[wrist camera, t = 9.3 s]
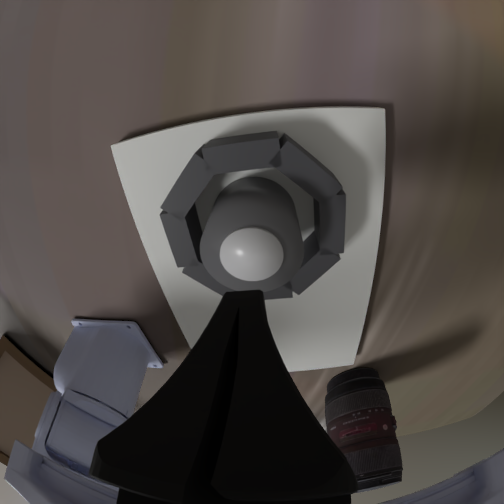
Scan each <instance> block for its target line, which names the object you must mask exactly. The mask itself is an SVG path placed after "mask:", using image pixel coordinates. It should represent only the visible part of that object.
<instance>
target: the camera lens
mask: <svg viewBox="0 0 504 504" xmlns="http://www.w3.org/2000/svg"><path fill="white" fill-rule="evenodd" d="M391 411H392V409H391V404H390V399H389V395H388V393H387V390H386V388H385V384H384V382H383V381H382V380H381V379H379V375H378V373H377V371H376V370H374V369H371V368H359V369H353V370H349V371H346V372H344V373H341V374H339V375H337V376H336V377H334V378H333V379H332V380H331V381H330V382H329V383H328V385H327V395H326V397H325V417H326V426H327V433H328V435H329V437H330V438H331V439H332V440H333V442H334V443H335V444H336V446H337V447H338V448H339V449H340V450H341V452H342V453H343V454H344V455H345V457H346V458H347V461H348V463H349V464H350V466H351V468H352V470H353V472H354V474H355V476H356V478H357V481H358V486H359V490H358V491H357V492H356V493H359V492H364V491H369V490H373V489H378V488H382V487H386V486H389V485H393V484H396V483H399V482H401V481H402V470H403V468H402V459H401V453H400V447H399V444H398V440H397V439H396V433H395V430H396V428H397V426H396V420H395V416H392V412H391Z"/></svg>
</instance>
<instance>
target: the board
mask: <svg viewBox="0 0 504 504" xmlns="http://www.w3.org/2000/svg"><path fill="white" fill-rule="evenodd" d="M111 149H112V152H113V156H114V159H115V163H116V166H117V170H118V173H119V176H120V179H121V183H122V186H123V189H124V192H125V195H126V198H127V201H128V204H129V207H130V210H131V212H132V215H133V218H134V221H135V224H136V226H137V229H138V232H139V234H140V237H141V240H142V242H143V245H144V247H145V250H146V252H147V255H148V257H149V260H150V262H151V265H152V267H153V269H154V272H155V274H156V276H157V279H158V281H159V283H160V286H161V288H162V290H163V292H164V295H165V297H166V299H167V301H168V303H169V305H170V308H171V310H172V312H173V314H174V316H175V318H176V320H177V322H178V324H179V326H180V328H181V330H182V332H183V334H184V336H185V338H186V340H187V342H188V344H189V346H190V348H191V349H192V348H193V346H194V345H195V344H196V342H197V341H198V339H199V338H200V336H201V334H202V333H203V331H204V329H205V328H206V326H207V324H208V323H209V321H210V319H211V318H212V316H213V314H214V312H215V310H216V309H217V307H218V305H219V303H220V301H221V299H222V297H223V295H224V294H225V293H226V292H231V291H236V290H233V289H230V288H228V287H226V286H224V285H222V284H221V283H219V282H218V281H216V280H215V279H214V278H213V277H212V276H211V275H210V274H209V273H208V271H207V270H206V268H205V267H204V265H203V262H202V260H201V256H200V241H201V238H202V234H203V232H204V229H205V226H206V224H207V221H208V219H209V216H210V213H211V211H212V208H213V206H214V203H215V201H216V199H217V196H218V195H219V193H220V192H221V191H222V190H223V189H224V188H225V187H226V186H227V185H229V184H230V183H232V182H234V181H236V180H238V179H241V178H246V177H262V178H267V179H270V180H272V181H274V182H276V183H278V184H279V185H281V186H282V187H283V188H284V189H285V190H286V191H287V192H288V193H289V194H290V196H291V198H292V200H293V202H294V205H295V208H296V213H297V217H298V221H299V226H300V230H301V235H302V239H303V244H304V258H303V262H302V264H301V267H300V269H299V270H298V272H297V273H296V274H295V276H294V277H293V278H292V279H291V280H290V281H288V282H287V283H286V284H284V285H282V286H281V287H278V288H276V289H274V290H271V291H267V292H263V294H264V300H265V307H266V313H267V320H268V324H269V327H270V330H271V333H272V335H273V338H274V341H275V343H276V346H277V348H278V351H279V353H280V355H281V357H282V360H283V362H284V364H285V366H286V368H287V370H288V372H291V371H303V370H314V369H323V368H331V367H339V366H346V365H353V364H354V360H355V357H356V353H357V350H358V346H359V342H360V338H361V334H362V330H363V326H364V322H365V317H366V313H367V308H368V303H369V298H370V293H371V288H372V283H373V277H374V271H375V265H376V259H377V252H378V245H379V237H380V229H381V219H382V209H383V197H384V181H385V154H386V125H385V109H384V108H380V107H362V106H327V107H303V108H288V109H277V110H267V111H258V112H250V113H243V114H236V115H229V116H223V117H217V118H212V119H206V120H201V121H196V122H191V123H187V124H182V125H178V126H174V127H170V128H166V129H162V130H158V131H154V132H150V133H147V134H143V135H140V136H136V137H133V138H129V139H126V140H123V141H120V142H117V143H115V144H113V145H111Z"/></svg>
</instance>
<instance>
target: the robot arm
mask: <svg viewBox="0 0 504 504" xmlns="http://www.w3.org/2000/svg"><path fill="white" fill-rule="evenodd" d="M71 322H72V324H73V325H74V329H73V331H72V333H71V335H70V336H69V338H68V340H67V342H66V344H65V346H64V348H63V350H62V352H61V354H60V356H59V358H58V360H57V362H56V364H55V367H54V384H55V387H56V389H57V391H56V392H51V393H50V396H49V398H48V400H47V403H46V405H45V408H44V410H43V413H42V416H41V418H40V421H39V424H38V427H37V429H36V432H35V440H34V443H33V446H32V449H31V448H29V447H28V446H26V445H25V444H23V443H22V442H20V441H18V440H17V439H16V440H15V442H14V445H13V448H12V451H11V455H10V458H9V462H8V465H7V469H6V473H5V477H4V479H5V481H6V482H7V483H9V484H10V485H11V486H12V487H13V488H14V489H15V490H16V491H17V492H18V493H19V494H20V495H22V496H23V497H24V499H25V500H26V501H27V502H28V503H29V504H351V494H353V493H356V492H357V491H358V490H359V486H358V481H357V478H356V476H355V474H354V472H353V470H352V468H351V466H350V464H349V463H348V461H347V458H346V457H345V455H344V454H343V453H342V452H341V450H340V449H339V448H338V447H337V446H336V444H335V443H334V442H333V440H332V439H331V438H330V437H329V435H328V434H327V433H326V431H325V430H324V429H323V427H322V426H321V424H320V423H319V422H318V420H317V419H316V417H315V416H314V414H313V413H312V411H311V410H310V408H309V407H308V405H307V403H306V402H305V400H304V399H303V397H302V396H301V394H300V392H299V390H298V389H297V387H296V385H295V383H294V382H293V380H292V378H291V376H290V374H289V372H288V370H287V368H286V366H285V364H284V362H283V360H282V357H281V355H280V353H279V351H278V348H277V346H276V343H275V341H274V338H273V335H272V333H271V330H270V327H269V324H268V320H267V313H266V307H265V300H264V294H263V291H261V290H260V289H259V290H245V291H231V292H226V293H225V294H224V295H223V297H222V299H221V301H220V303H219V305H218V307H217V309H216V310H215V312H214V314H213V316H212V318H211V319H210V321H209V323H208V324H207V326H206V328H205V329H204V331H203V333H202V334H201V336H200V338H199V339H198V341H197V342H196V344H195V345H194V346H193V348H192V349H191V351H190V352H189V354H188V355H187V357H186V358H185V359H184V361H183V362H182V363H181V365H180V366H179V367H178V369H177V370H176V371H175V372H174V373H173V375H172V376H171V377H170V378H169V379H168V381H167V382H166V383H165V384H164V385H163V386H162V387H161V388H160V389H159V390H158V391H157V393H156V394H155V395H154V396H153V397H152V398H151V399H150V400H149V401H148V402H147V403H146V404H144V405H143V406H142V407H141V408H140V409H139V410H138V411H137V412H135V413H134V409H135V406H136V402H137V399H138V396H139V392H140V389H141V386H142V382H143V379H144V376H145V373H146V370H147V367H153V368H163V366H164V364H163V363H162V361H161V360H160V358H159V357H158V355H157V354H156V352H155V351H154V349H153V348H152V346H151V345H150V343H149V342H148V340H147V339H146V337H145V335H144V334H143V332H142V331H141V329H140V327H139V326H138V324H137V323H136V322H133V321H108V320H89V319H72V321H71ZM61 396H62V397H61ZM133 413H134V414H133ZM378 504H504V448H503V449H502V450H500V451H498V452H497V453H495V454H494V455H492V456H490V457H488V458H487V459H484V460H482V461H480V462H478V463H476V464H474V465H472V466H470V467H468V468H466V469H464V470H463V471H461V472H459V473H457V474H455V475H454V476H453V477H451V478H449V479H446V480H444V481H442V482H440V483H437V484H435V485H432V486H430V487H428V488H425V489H423V490H420V491H417V492H414V493H412V494H408V495H405V496H402V497H400V498H396V499H393V500H389V501H386V502H382V503H378Z"/></svg>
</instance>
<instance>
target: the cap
mask: <svg viewBox="0 0 504 504" xmlns="http://www.w3.org/2000/svg"><path fill="white" fill-rule="evenodd" d="M200 256H201V260H202V262H203V265H204V267H205V268H206V270H207V271H208V273H209V274H210V275H211V276H212V277H213V278H214V279H215V280H216V281H218V282H219V283H221V284H222V285H224V286H226V287H228V288H230V289H233V290H236V291H245V290H259V289H260V290H261V291H263V292H267V291H271V290H274V289H276V288H278V287H281V286H282V285H284V284H286V283H287V282H288V281H290V280H291V279H292V278H293V277H294V276H295V274H296V273H297V272H298V270H299V269H300V267H301V264H302V262H303V258H304V244H303V239H302V235H301V230H300V226H299V221H298V217H297V213H296V208H295V205H294V202H293V200H292V198H291V196H290V194H289V193H288V192H287V191H286V190H285V189H284V188H283V187H282V186H281V185H279V184H278V183H276V182H274V181H272V180H270V179H267V178H262V177H246V178H241V179H238V180H236V181H234V182H232V183H230V184H229V185H227V186H226V187H225V188H224V189H223V190H222V191H221V192H220V193H219V195H218V196H217V199H216V201H215V203H214V206H213V208H212V211H211V213H210V216H209V219H208V221H207V224H206V226H205V229H204V232H203V234H202V238H201V241H200Z"/></svg>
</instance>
